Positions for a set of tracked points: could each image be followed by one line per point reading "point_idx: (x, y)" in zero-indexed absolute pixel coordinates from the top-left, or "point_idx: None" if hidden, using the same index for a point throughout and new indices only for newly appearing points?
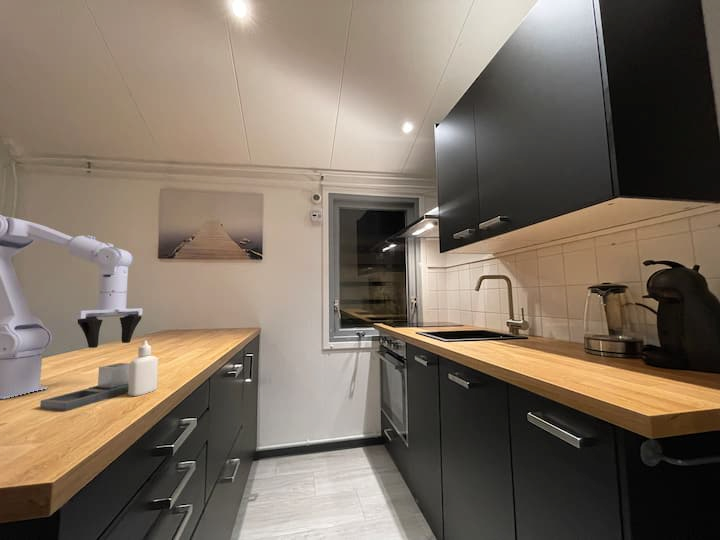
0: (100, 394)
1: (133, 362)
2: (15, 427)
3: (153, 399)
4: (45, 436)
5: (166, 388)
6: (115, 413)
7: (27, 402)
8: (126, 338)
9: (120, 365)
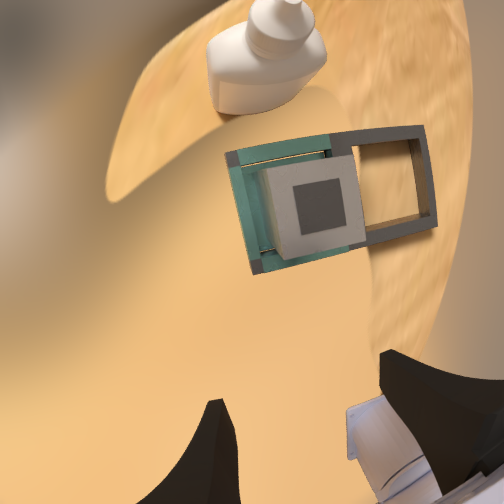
0: (357, 130)
1: (322, 40)
2: (465, 120)
3: None
4: (441, 23)
5: (189, 71)
6: (358, 3)
7: (414, 314)
8: (225, 424)
9: (313, 178)
